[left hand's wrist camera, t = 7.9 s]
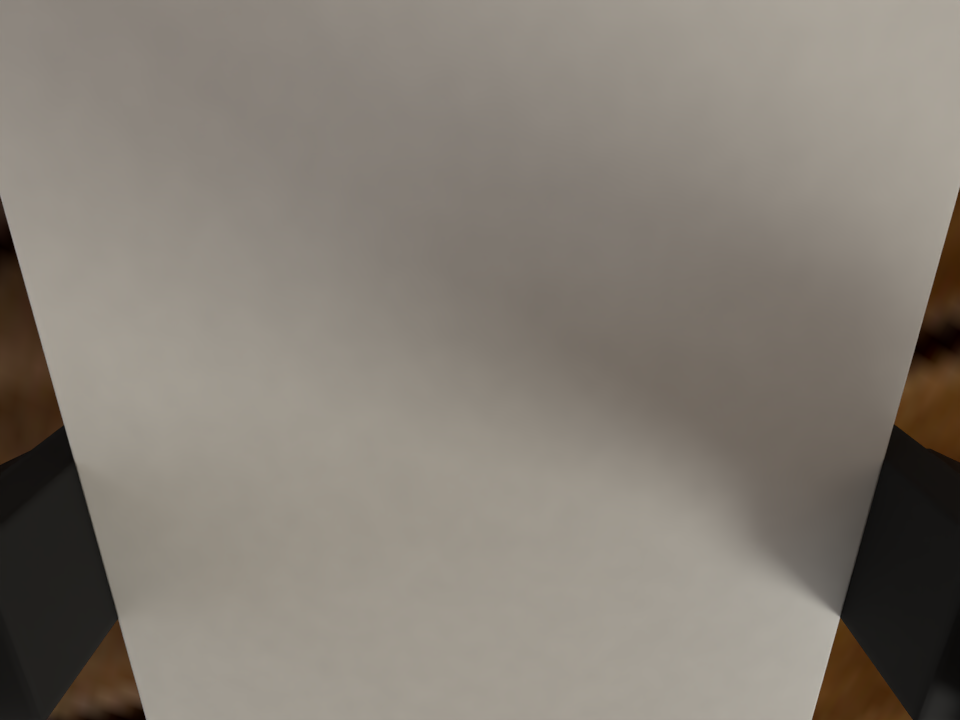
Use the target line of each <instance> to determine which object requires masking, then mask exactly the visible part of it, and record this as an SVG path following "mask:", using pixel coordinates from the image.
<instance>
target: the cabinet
mask: <svg viewBox="0 0 960 720" xmlns="http://www.w3.org/2000/svg"><path fill="white" fill-rule="evenodd" d="M959 188H960V0H0V196H1V200H2V204H3V207H4V211H5V214H6V218H7V221H8V225H9V229H10V232H11V236H12V239H13V243H14V247H15V250H16V254H17V257H18V261H19V265H20V268H21V272H22V275H23V279H24V282H25V286H26V290H27V293H28V297H29V300H30V304H31V308H32V311H33V315H34V318H35V322H36V326H37V329H38V333H39V336H40V340H41V344H42V347H43V351H44V354H45V358H46V361H47V365H48V369H49V372H50V376H51V379H52V383H53V387H54V390H55V394H56V397H57V401H58V405H59V408H60V412H61V415H62V419H63V422H64V426H65V430H66V433H67V437H68V440H69V444H70V448H71V451H72V455H73V458H74V462H75V466H76V469H77V473H78V476H79V480H80V483H81V487H82V491H83V494H84V498H85V501H86V505H87V509H88V512H89V516H90V519H91V523H92V527H93V530H94V534H95V537H96V541H97V544H98V548H99V552H100V555H101V559H102V562H103V566H104V570H105V573H106V577H107V580H108V584H109V588H110V591H111V595H112V598H113V602H114V605H115V609H116V613H117V616H118V620H119V623H120V627H121V631H122V634H123V638H124V641H125V645H126V649H127V652H128V656H129V659H130V663H131V667H132V670H133V674H134V677H135V681H136V684H137V688H138V692H139V695H140V699H141V702H142V706H143V710H144V713H145V717H146V720H812V717H813V713H814V710H815V706H816V702H817V699H818V695H819V692H820V688H821V684H822V681H823V677H824V674H825V670H826V666H827V663H828V659H829V656H830V652H831V648H832V645H833V641H834V638H835V634H836V630H837V627H838V623H839V620H840V616H841V612H842V609H843V605H844V601H845V598H846V594H847V591H848V587H849V583H850V580H851V576H852V573H853V569H854V565H855V562H856V558H857V555H858V551H859V547H860V544H861V540H862V537H863V533H864V529H865V526H866V522H867V519H868V515H869V511H870V508H871V504H872V501H873V497H874V493H875V490H876V486H877V483H878V479H879V475H880V472H881V468H882V465H883V461H884V458H885V454H886V450H887V447H888V443H889V440H890V436H891V432H892V429H893V425H894V422H895V418H896V414H897V411H898V407H899V404H900V400H901V396H902V393H903V389H904V386H905V382H906V378H907V375H908V371H909V368H910V364H911V360H912V357H913V353H914V350H915V346H916V342H917V339H918V335H919V332H920V328H921V324H922V321H923V317H924V314H925V310H926V306H927V303H928V299H929V296H930V292H931V288H932V285H933V281H934V278H935V274H936V270H937V267H938V263H939V260H940V256H941V252H942V249H943V245H944V242H945V238H946V234H947V231H948V227H949V224H950V220H951V217H952V213H953V209H954V206H955V202H956V199H957V195H958V191H959Z"/></svg>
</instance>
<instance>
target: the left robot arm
mask: <svg viewBox="0 0 960 720" xmlns="http://www.w3.org/2000/svg"><path fill="white" fill-rule="evenodd" d="M840 617H841V619H842V620H843V622H844V623H845V624H846V626H847V627H848V629H849V630H850V631H851V633H852V634H853V636H854V637H855V639H856V640H857V641H858V643H859V644H860V646H861V647H862V648H863V650H864V651H865V653H866V654H867V655H868V657H869V658H870V660H871V661H872V663H873V664H874V665H875V667H876V668H877V670H878V671H879V672H880V674H881V675H882V677H883V678H884V679H885V681H886V682H887V684H888V685H889V687H890V688H891V689H892V691H893V692H894V694H895V695H896V696H897V698H898V699H899V701H900V702H901V704H902V705H903V706H904V708H905V709H906V711H907V712H908V713H909V715H910V716H911V718H912V719H913V720H960V463H959V462H957V461H955V460H953V459H951V458H949V457H947V456H944V455H942V454H940V453H938V452H936V451H934V450H932V449H926V448H924V447H923V446H922V445H920V444H919V443H918V442H916V441H915V440H914V439H913V438H911V437H910V436H909V435H907V434H906V433H905V432H903V431H902V430H901V429H899V428H898V427H897V426H895V425H893V429H892V432H891V436H890V440H889V443H888V447H887V450H886V454H885V458H884V461H883V465H882V468H881V472H880V475H879V479H878V483H877V486H876V490H875V493H874V497H873V501H872V504H871V508H870V511H869V515H868V519H867V522H866V526H865V529H864V533H863V537H862V540H861V544H860V547H859V551H858V555H857V558H856V562H855V565H854V569H853V573H852V576H851V580H850V583H849V587H848V591H847V594H846V598H845V601H844V605H843V609H842V612H841V616H840ZM117 619H118V616H117V613H116V609H115V605H114V602H113V598H112V595H111V591H110V588H109V584H108V580H107V577H106V573H105V570H104V566H103V562H102V559H101V555H100V552H99V548H98V544H97V541H96V537H95V534H94V530H93V527H92V523H91V519H90V516H89V512H88V509H87V505H86V501H85V498H84V494H83V491H82V487H81V483H80V480H79V476H78V473H77V469H76V466H75V462H74V458H73V455H72V451H71V448H70V444H69V440H68V437H67V433H66V430H65V426H62V427H61V428H60V429H58V430H57V431H56V432H55V433H53V434H52V435H51V436H49V437H48V438H47V439H45V440H44V441H43V442H41V443H40V444H39V445H37V446H36V447H35V448H34V449H32V450H31V451H29V452H27V453H25V454H22V455H20V456H18V457H16V458H14V459H12V460H10V461H8V462H6V463H4V464H1V465H0V720H46V719H47V718H48V717H49V715H50V714H51V712H52V711H53V710H54V708H55V707H56V705H57V704H58V702H59V701H60V700H61V698H62V697H63V695H64V694H65V693H66V691H67V690H68V688H69V687H70V686H71V684H72V683H73V681H74V680H75V678H76V677H77V676H78V674H79V673H80V671H81V670H82V669H83V667H84V666H85V664H86V663H87V662H88V660H89V659H90V657H91V656H92V654H93V653H94V652H95V650H96V649H97V647H98V646H99V645H100V643H101V642H102V640H103V639H104V637H105V636H106V635H107V633H108V632H109V630H110V629H111V628H112V626H113V625H114V623H115V622H116V621H117Z"/></svg>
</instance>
